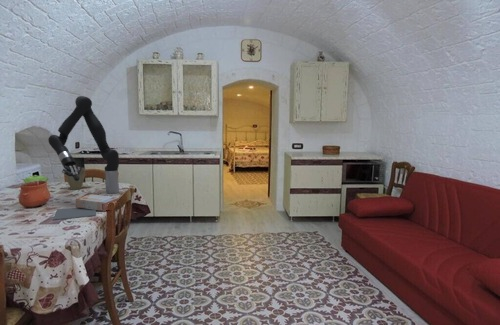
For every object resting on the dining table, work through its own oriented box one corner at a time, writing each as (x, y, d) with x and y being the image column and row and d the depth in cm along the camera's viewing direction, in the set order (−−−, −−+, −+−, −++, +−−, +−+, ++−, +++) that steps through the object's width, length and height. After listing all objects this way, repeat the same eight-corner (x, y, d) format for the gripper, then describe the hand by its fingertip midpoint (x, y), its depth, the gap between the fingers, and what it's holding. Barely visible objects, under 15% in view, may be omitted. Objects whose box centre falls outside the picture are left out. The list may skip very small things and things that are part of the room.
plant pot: (61, 189, 259) (60, 169, 257) (79, 185, 272) (78, 166, 269) (72, 191, 251) (70, 171, 249) (90, 188, 264) (89, 168, 262)
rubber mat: (57, 210, 203) (57, 209, 203) (96, 206, 212) (96, 205, 212) (52, 220, 183) (52, 219, 183) (96, 215, 192) (95, 214, 192)
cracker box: (75, 207, 204) (105, 211, 200) (75, 198, 203) (105, 202, 199) (90, 202, 218) (118, 206, 214) (90, 193, 217) (118, 197, 213)
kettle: (21, 191, 250) (20, 177, 248) (29, 187, 263) (27, 174, 262) (43, 190, 254) (42, 176, 252) (49, 186, 267) (48, 173, 265)
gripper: (58, 157, 209) (69, 178, 203) (78, 155, 219) (89, 175, 214) (54, 164, 212) (65, 185, 207) (75, 162, 223) (85, 181, 218)
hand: (77, 180), depth 211 cm, fingers closed
